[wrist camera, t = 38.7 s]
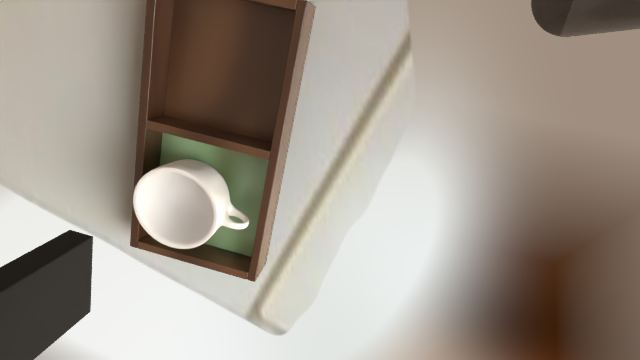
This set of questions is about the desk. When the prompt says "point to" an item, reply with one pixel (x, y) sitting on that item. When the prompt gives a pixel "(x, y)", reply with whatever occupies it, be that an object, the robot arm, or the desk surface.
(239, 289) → the desk surface
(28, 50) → the desk surface
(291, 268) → the desk surface
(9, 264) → the robot arm
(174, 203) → the teacup
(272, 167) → the wooden compartment tray
